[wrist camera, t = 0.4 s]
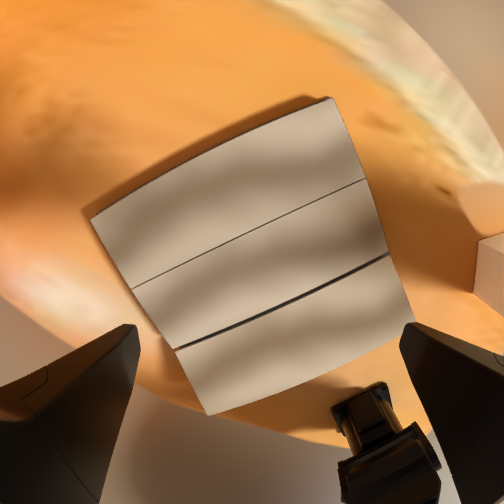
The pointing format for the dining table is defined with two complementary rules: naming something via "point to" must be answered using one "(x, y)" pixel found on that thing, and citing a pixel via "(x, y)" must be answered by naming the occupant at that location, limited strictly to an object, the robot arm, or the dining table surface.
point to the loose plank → (299, 339)
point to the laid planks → (245, 225)
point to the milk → (491, 272)
